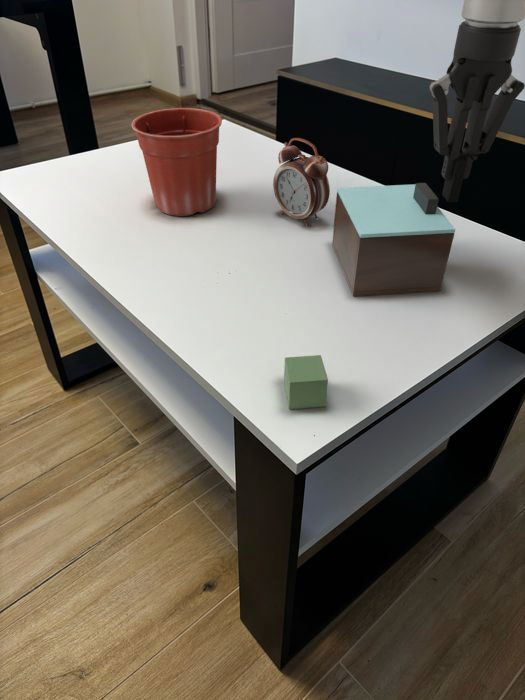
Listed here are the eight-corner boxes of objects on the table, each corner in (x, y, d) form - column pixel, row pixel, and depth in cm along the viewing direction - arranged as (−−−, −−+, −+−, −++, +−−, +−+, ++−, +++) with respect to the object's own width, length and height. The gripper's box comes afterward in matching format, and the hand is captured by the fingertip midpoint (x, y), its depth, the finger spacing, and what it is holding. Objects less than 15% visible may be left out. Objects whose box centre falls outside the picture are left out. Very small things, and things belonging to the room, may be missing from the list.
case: (440, 291, 85) (454, 233, 78) (352, 296, 84) (360, 238, 77) (408, 241, 97) (419, 188, 91) (332, 245, 96) (336, 191, 89)
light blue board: (454, 232, 78) (459, 213, 76) (360, 238, 77) (362, 218, 75) (419, 187, 90) (422, 169, 89) (336, 191, 89) (338, 173, 87)
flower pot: (133, 196, 112) (119, 115, 101) (206, 180, 118) (200, 102, 107) (161, 229, 101) (149, 142, 90) (240, 210, 107) (237, 126, 96)
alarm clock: (271, 213, 106) (271, 135, 96) (288, 205, 108) (290, 128, 99) (313, 232, 100) (318, 150, 90) (329, 223, 102) (336, 143, 93)
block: (325, 406, 66) (328, 379, 63) (288, 409, 65) (289, 382, 63) (318, 381, 69) (321, 354, 66) (283, 383, 69) (284, 357, 66)
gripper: (526, 15, 72) (480, 186, 87) (430, 17, 71) (401, 189, 86) (555, 26, 66) (500, 206, 81) (451, 28, 65) (416, 211, 80)
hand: (449, 198), depth 84 cm, fingers closed
